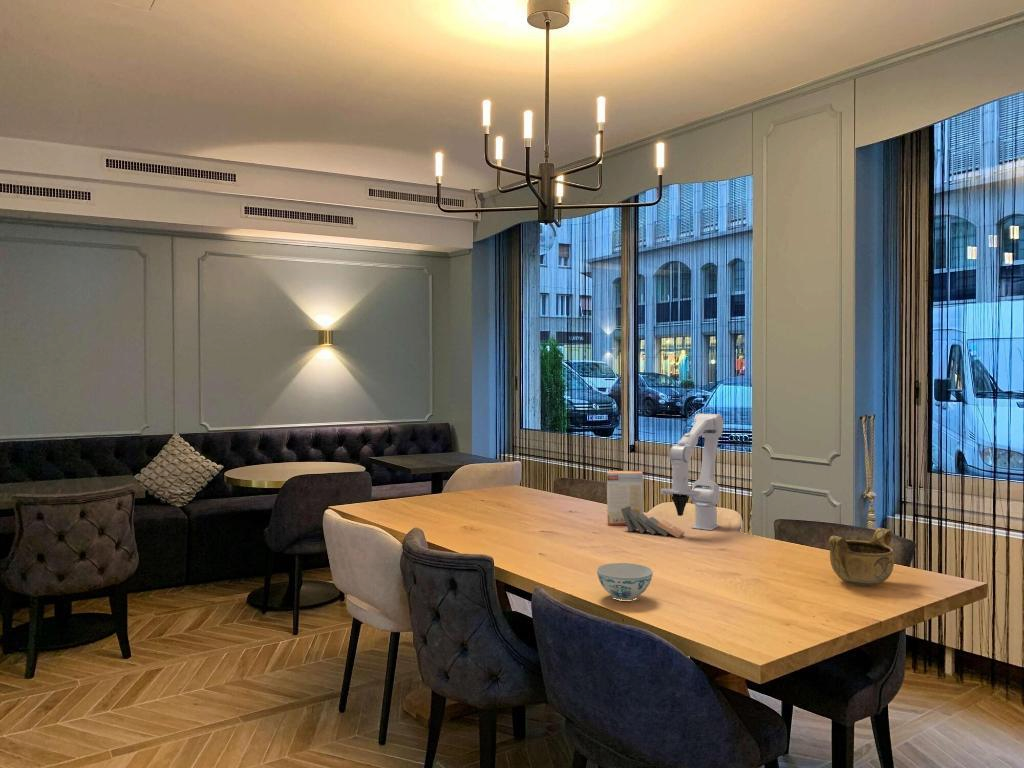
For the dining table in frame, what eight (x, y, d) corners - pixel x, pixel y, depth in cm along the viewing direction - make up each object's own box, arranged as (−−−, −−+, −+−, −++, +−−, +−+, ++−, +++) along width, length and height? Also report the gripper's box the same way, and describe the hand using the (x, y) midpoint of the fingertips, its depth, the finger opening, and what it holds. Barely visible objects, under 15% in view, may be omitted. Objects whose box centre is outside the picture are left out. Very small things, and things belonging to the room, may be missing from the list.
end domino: (634, 529, 294) (626, 507, 296) (637, 528, 294) (630, 505, 295) (628, 532, 290) (620, 509, 292) (632, 531, 289) (624, 507, 291)
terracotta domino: (683, 535, 284) (662, 523, 288) (685, 531, 283) (663, 519, 288) (678, 538, 280) (657, 525, 284) (680, 534, 279) (658, 521, 284)
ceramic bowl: (863, 572, 233) (863, 523, 233) (914, 586, 218) (914, 534, 217) (809, 581, 223) (810, 530, 223) (859, 597, 208) (859, 542, 208)
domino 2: (658, 532, 289) (640, 516, 293) (660, 529, 289) (642, 513, 292) (653, 535, 285) (635, 518, 289) (655, 531, 284) (637, 515, 288)
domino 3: (670, 534, 287) (650, 520, 291) (672, 530, 286) (652, 516, 290) (665, 536, 282) (645, 522, 287) (667, 532, 282) (647, 518, 286)
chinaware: (663, 597, 209) (663, 569, 208) (633, 610, 198) (633, 580, 197) (617, 587, 219) (617, 559, 218) (585, 599, 207) (585, 570, 207)
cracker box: (642, 522, 307) (642, 470, 306) (643, 526, 301) (643, 472, 300) (606, 522, 308) (606, 470, 308) (607, 525, 302) (607, 472, 302)
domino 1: (646, 531, 292) (632, 511, 295) (649, 528, 291) (635, 509, 294) (640, 533, 288) (626, 513, 290) (644, 531, 287) (630, 511, 290)
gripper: (657, 478, 282) (657, 515, 282) (696, 481, 274) (695, 519, 274) (664, 475, 288) (664, 511, 288) (702, 478, 280) (702, 515, 280)
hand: (680, 515), depth 282 cm, fingers closed
